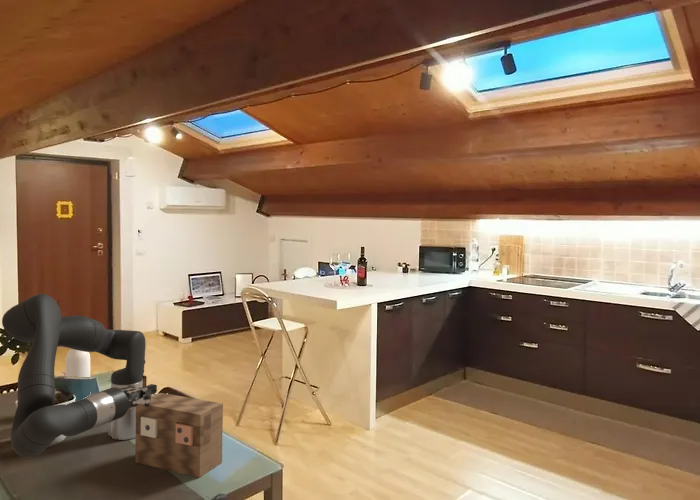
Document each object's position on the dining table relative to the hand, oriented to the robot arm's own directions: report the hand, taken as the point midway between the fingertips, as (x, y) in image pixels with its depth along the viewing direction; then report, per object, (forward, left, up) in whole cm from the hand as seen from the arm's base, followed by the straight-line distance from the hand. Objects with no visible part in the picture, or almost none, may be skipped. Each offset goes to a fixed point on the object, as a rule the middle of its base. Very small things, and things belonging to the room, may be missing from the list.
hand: (154, 388), depth 141 cm
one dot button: (-6, +7, -15) cm, 18 cm away
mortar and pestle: (-43, +41, -24) cm, 64 cm away
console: (0, +10, -24) cm, 26 cm away
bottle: (-58, +27, -24) cm, 68 cm away
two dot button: (+6, +7, -16) cm, 18 cm away
